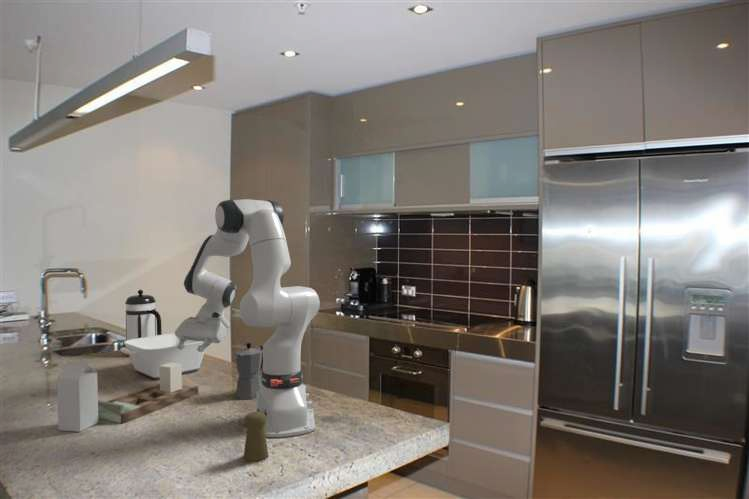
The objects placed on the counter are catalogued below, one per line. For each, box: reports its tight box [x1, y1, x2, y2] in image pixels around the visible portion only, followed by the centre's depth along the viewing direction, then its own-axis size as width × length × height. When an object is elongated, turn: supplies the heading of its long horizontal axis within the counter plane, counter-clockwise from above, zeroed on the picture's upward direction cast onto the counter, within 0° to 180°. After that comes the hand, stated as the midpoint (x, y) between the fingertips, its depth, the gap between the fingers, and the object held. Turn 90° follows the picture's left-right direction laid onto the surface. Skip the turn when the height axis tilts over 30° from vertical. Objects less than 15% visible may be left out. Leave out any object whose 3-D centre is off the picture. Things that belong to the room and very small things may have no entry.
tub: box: [119, 332, 207, 381], centre depth 204 cm, size 34×27×13 cm
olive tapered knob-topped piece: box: [243, 411, 269, 463], centre depth 125 cm, size 6×6×11 cm
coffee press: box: [123, 289, 163, 357], centre depth 234 cm, size 17×16×30 cm
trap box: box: [98, 383, 199, 424], centre depth 165 cm, size 30×15×5 cm, turn 155°
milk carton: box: [56, 360, 99, 433], centre depth 146 cm, size 7×7×19 cm
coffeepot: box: [234, 342, 264, 400], centre depth 174 cm, size 15×9×18 cm, turn 157°
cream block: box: [159, 363, 183, 393], centre depth 174 cm, size 5×5×8 cm
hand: (189, 349), depth 182 cm, fingers open, 8 cm apart
